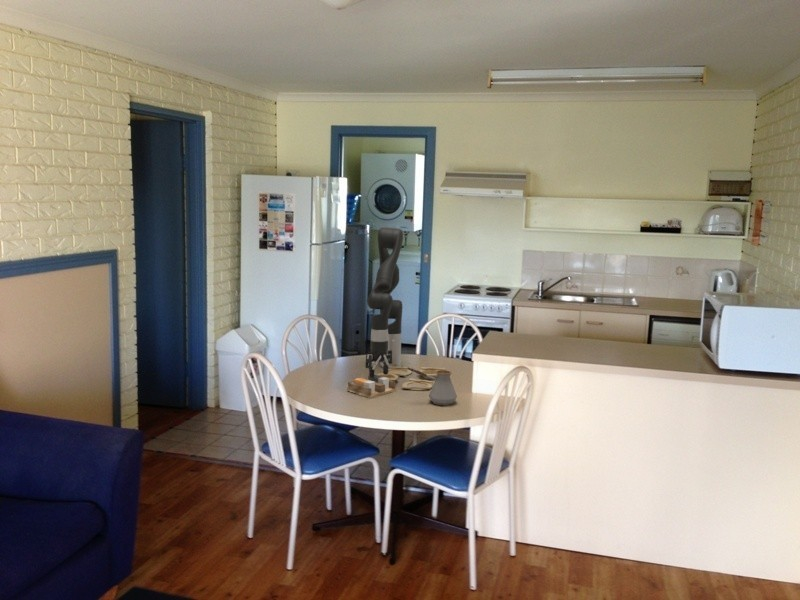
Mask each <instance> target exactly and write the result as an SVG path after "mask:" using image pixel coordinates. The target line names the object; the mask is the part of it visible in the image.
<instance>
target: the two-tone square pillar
mask: <svg viewBox="0 0 800 600" xmlns="http://www.w3.org/2000/svg"><path fill="white" fill-rule="evenodd" d="M367 378H368V379H367V380H370V381H374V382H377V383H381V384H385V389H388V388H389V378H386V377H382V376H379V375H376V373H374V378H370V376H369V375H368V376H367Z"/></svg>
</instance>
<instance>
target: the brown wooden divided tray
mask: <svg viewBox="0 0 800 600" xmlns="http://www.w3.org/2000/svg"><path fill="white" fill-rule="evenodd" d="M347 383H348V384H347V386H348V387H347V390H346V391H347V392H348V391H350V392H349V393H351V392H353V393H352V394H354V393H356V394H355V395H358V394H360V395H359V396H361V395H363V396H362V397H364V396H366V397H365V398H368V397H369V398H368V399H373V397H374V398H377V397H380V395H381V396H383V394H384V395H387V393H388V394H391V393H394V391H395V392H396V391H397V389H396V381H390V380H389V388H388V389H385V384H381V383H377V382H375V392H373V393H371V388H368V387H364V386H361V385H357V384H354V382H351V381H350V382H347ZM390 392H391V393H390ZM376 396H377V397H376Z"/></svg>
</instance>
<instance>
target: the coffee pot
mask: <svg viewBox="0 0 800 600" xmlns="http://www.w3.org/2000/svg"><path fill="white" fill-rule="evenodd" d="M406 367H407V369H406V370H408V369H409V370H411V372H413V373H415V374H417V375H420V376H422V375H423V376H426V377H429V378H431V379H430V380H434V382H433V384H432V388H430V391H429V393H428V398H429V399H430V400H431V401H432V402H433V404H435V405H438V406H448V405H449V406H450V405H452V404H453V402H456V399H457V398H458V395H457V393H456V389H455V388H454V385H453V382H452V380H451V378H450V377H451V375H452V371H450V370H447V369H446V370H439V371H436V374H437V378H434V377H431V376H429V375H427V374H424V373H422V372H420V371H419V370H417V369H415V368H412V369H411V368H409V367H410V366H406ZM406 372H407V371H406ZM423 376H422V377H423Z"/></svg>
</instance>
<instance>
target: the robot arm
mask: <svg viewBox="0 0 800 600" xmlns="http://www.w3.org/2000/svg"><path fill="white" fill-rule="evenodd" d="M403 241H404V233H403V230H402V229H401V228H395V227H387V226H386V227H384V226H383V227H380V228H379V229H378V232H377V249H378V257H379V258H378V259H379V266H378V268H377V271H376V275H375V276H376V277H375V283H374V286H373V288H372V289H371V291H370V293H369V295H368V298H367V305H368V307H369V309H371V310H379V313H378V314H373V315H372V317H371V328H370V329H371V331H370V351H371V354H368V353H367V354H365V366H364V367H365V368H366V369H368V376H370V378H374V374H375V369H376V366H378V364H379V366H380V367H382V370H383V371H382V373H383V374H388V366H392V367H401V363H402V362H401V359H402V318H403V317H402V316H403V302H402V301H401V300H400V299H393V297H392V295H391V293H392V292H394V290H395V289H396V287H397V286H398V285H399V283H400V268H399V265H398V259H399V256H400V253H401V249H402V246H403ZM388 249H389V250H390V249H391V250H392V251H391V253H389V250H388ZM389 320H394V321H393V322H391V323H389Z"/></svg>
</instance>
